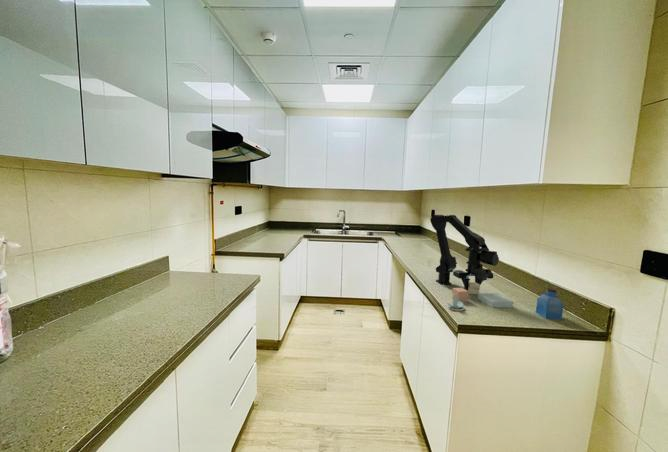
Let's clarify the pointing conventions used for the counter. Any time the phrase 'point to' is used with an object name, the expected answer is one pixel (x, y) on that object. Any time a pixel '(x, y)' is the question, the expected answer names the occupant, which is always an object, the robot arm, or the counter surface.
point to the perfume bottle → (550, 305)
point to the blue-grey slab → (495, 300)
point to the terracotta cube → (461, 294)
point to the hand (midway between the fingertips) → (471, 290)
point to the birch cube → (473, 287)
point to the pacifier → (456, 303)
